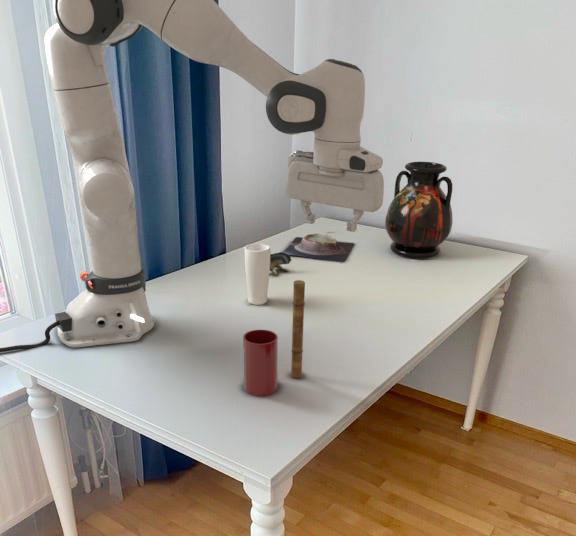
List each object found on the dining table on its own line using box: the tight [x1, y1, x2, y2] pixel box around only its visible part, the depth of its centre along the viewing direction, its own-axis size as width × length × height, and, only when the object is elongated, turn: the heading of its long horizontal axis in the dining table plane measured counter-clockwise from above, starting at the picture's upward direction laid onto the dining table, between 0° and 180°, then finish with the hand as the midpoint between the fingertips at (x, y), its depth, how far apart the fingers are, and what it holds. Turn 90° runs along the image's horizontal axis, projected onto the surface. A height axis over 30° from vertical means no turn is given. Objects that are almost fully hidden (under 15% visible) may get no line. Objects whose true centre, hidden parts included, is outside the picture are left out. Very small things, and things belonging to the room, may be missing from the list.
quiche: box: [282, 233, 354, 263], centre depth 201 cm, size 21×20×4 cm
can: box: [242, 329, 279, 397], centre depth 120 cm, size 7×7×12 cm
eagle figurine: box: [270, 251, 293, 276], centre depth 180 cm, size 8×7×9 cm
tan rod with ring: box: [290, 279, 306, 379], centre depth 122 cm, size 2×2×21 cm
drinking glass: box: [243, 243, 271, 306], centre depth 158 cm, size 7×7×15 cm
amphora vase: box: [384, 161, 453, 260], centre depth 194 cm, size 22×22×28 cm
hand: (330, 227), depth 123 cm, fingers open, 8 cm apart
